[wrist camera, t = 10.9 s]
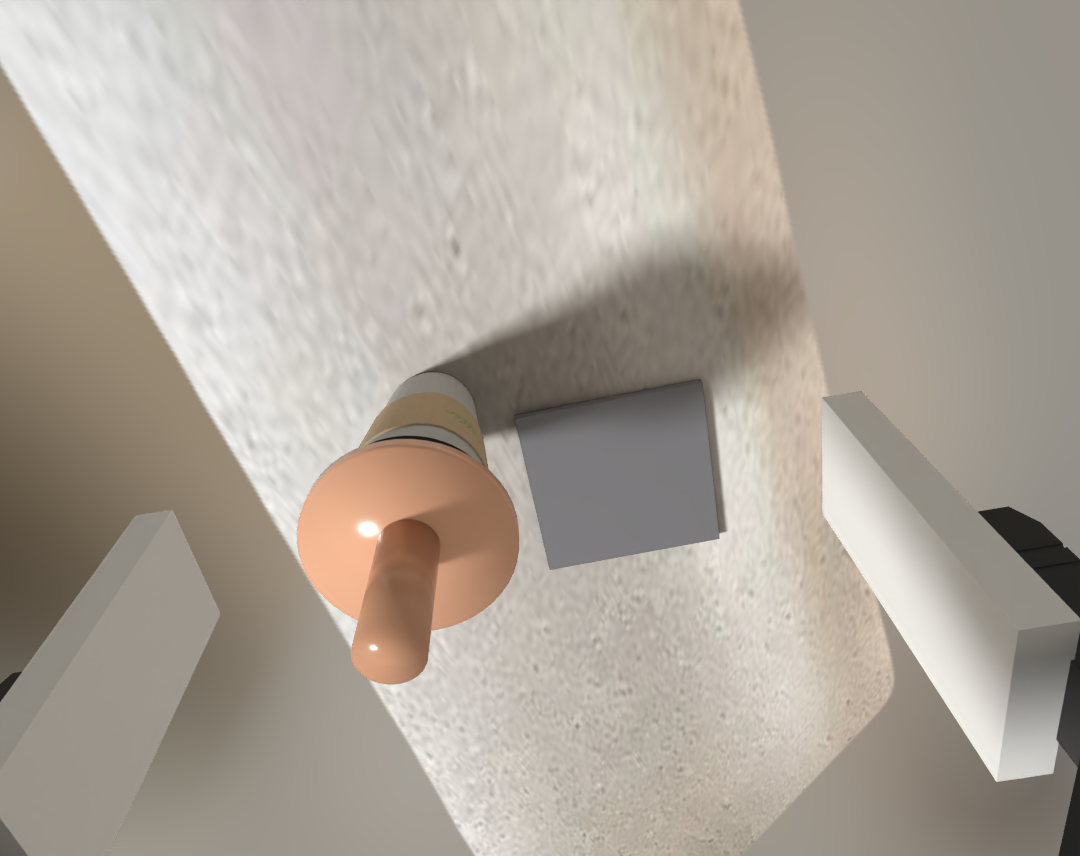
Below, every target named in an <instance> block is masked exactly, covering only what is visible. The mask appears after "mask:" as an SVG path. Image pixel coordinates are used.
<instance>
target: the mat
mask: <svg viewBox="0 0 1080 856" xmlns="http://www.w3.org/2000/svg"><path fill="white" fill-rule="evenodd" d="M515 422H516V426H517V431H518V435H519V439H520V444H521V448H522V452H523V456H524V461H525V465H526V469H527V474H528V478H529V482H530V487H531V491H532V495H533V500H534V504H535V508H536V513H537V517H538V521H539V526H540V530H541V534H542V539H543V543H544V547H545V552H546V556H547V560H548V565H549V569H550V570H552V569H557V568H562V567H568V566H573V565H579V564H584V563H590V562H595V561H601V560H606V559H612V558H617V557H622V556H628V555H633V554H639V553H644V552H650V551H655V550H661V549H666V548H671V547H677V546H682V545H688V544H693V543H699V542H704V541H710V540H715V539H720V538H719V529H718V520H717V511H716V502H715V493H714V483H713V474H712V465H711V456H710V447H709V438H708V429H707V420H706V411H705V401H704V392H703V383H702V381H701V379H700V380H695V381H690V382H685V383H679V384H674V385H669V386H664V387H659V388H654V389H648V390H643V391H638V392H633V393H628V394H623V395H617V396H612V397H607V398H602V399H597V400H592V401H586V402H581V403H576V404H571V405H566V406H560V407H555V408H550V409H545V410H540V411H535V412H529V413H524V414H519V415H515Z"/></svg>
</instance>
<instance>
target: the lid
mask: <svg viewBox="0 0 1080 856" xmlns="http://www.w3.org/2000/svg"><path fill="white" fill-rule="evenodd" d="M297 545H298V552H299V556H300V559H301V562H302V565H303V568H304V570H305V572H306V574H307V576H308V578H309V579H310V581H311V582H312V583H313V585H314V586H315V588H316V589H317V590H318V591H319V592H320V593H321V595H322V596H323V597H324V598H325V599H326V600H328V601H329V602H330V603H331V604H332V605H333V606H335V607H336V608H338V609H339V610H341V611H342V612H343V613H345V614H347V615H349V616H351V617H352V618H354V619H356V620H358V623H357V628H356V632H355V636H354V640H353V644H352V648H351V659H352V662H353V664H354V666H355V668H356V669H357V670H358V672H360V673H361V674H362V675H363V676H364V677H366V678H368V679H370V680H372V681H374V682H378V683H382V684H400V683H404V682H407V681H410V680H412V679H414V678H415V677H417V676H418V675H419V674H420V673H421V672H422V671H423V670H424V668H425V666H426V664H427V660H428V652H429V643H430V635H431V630H438V629H442V628H446V627H450V626H453V625H456V624H458V623H461V622H463V621H465V620H467V619H469V618H471V617H473V616H475V615H477V614H478V613H480V612H481V611H483V610H484V609H485V608H487V607H488V606H489V605H490V604H491V603H493V602H494V601H495V599H496V598H497V597H498V596H499V595H500V594H501V593H502V592H503V590H504V589H505V587H506V586H507V584H508V583H509V581H510V579H511V577H512V575H513V573H514V570H515V566H516V563H517V559H518V552H519V528H518V521H517V515H516V512H515V509H514V506H513V503H512V501H511V499H510V497H509V495H508V493H507V491H506V490H505V488H504V487H503V485H502V484H501V482H500V481H499V480H498V479H497V478H496V477H495V476H494V475H493V473H492V472H491V471H490V470H488V469H487V468H486V467H485V466H484V465H482V464H481V463H480V462H478V461H477V460H475V459H474V458H472V457H471V456H469V455H467V454H465V453H463V452H461V451H459V450H457V449H455V448H452V447H449V446H446V445H443V444H440V443H436V442H431V441H426V440H417V439H393V440H386V441H380V442H376V443H372V444H368V445H365V446H362V447H360V448H357V449H355V450H353V451H351V452H349V453H347V454H345V455H344V456H342V457H340V458H339V459H338V460H336V461H335V462H334V463H332V464H331V465H330V466H329V467H328V468H327V469H326V470H325V471H324V472H323V473H322V474H321V475H320V476H319V478H318V479H317V480H316V482H315V483H314V484H313V486H312V488H311V490H310V492H309V494H308V495H307V498H306V500H305V503H304V505H303V508H302V511H301V514H300V517H299V521H298V527H297Z"/></svg>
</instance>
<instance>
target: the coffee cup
mask: <svg viewBox="0 0 1080 856" xmlns="http://www.w3.org/2000/svg"><path fill="white" fill-rule="evenodd" d="M393 439H417V440H426V441H431V442H436V443H440V444H443V445H446V446H449V447H452V448H455V449H457V450H459V451H461V452H463V453H465V454H467V455H469V456H471V457H472V458H474V459H475V460H477V461H478V462H480V463H481V464H482V465H484V466H485V467H486V468H487V469H488V464H487V458H486V452H485V446H484V441H483V436H482V432H481V430H480V427H479V425H478V419H477V414H476V408H475V404H474V401H473V399H472V396H471V395H470V393H469V391H468V390H467V388H466V387H465V386H464V385H463V384H462V383H461V382H460V381H458V380H457V379H456V378H454V377H452V376H450V375H448V374H444V373H440V372H429V373H422V374H419V375H416V376H413V377H412V378H410V379H408V380H406V381H405V382H404V383H402V384H401V385H400V386H399V387H398V388H397V389H396V391H395V392H394V393H393V395H392V397H391V398H390V400H389V402H388V403H387V405H386V407H385V408H384V409H383V410H382V411H381V413H380V414H379V415H378V416H377V417H376V419H375V421H374V422H373V424H372V426H371V427H370V429H369V431H368V433H367V434H366V436H365V438H364V439H363V441H362V443H361V444H360V446H359V448H360V447H362V446H365V445H368V444H372V443H376V442H380V441H386V440H393ZM488 470H489V469H488Z"/></svg>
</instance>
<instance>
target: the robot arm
mask: <svg viewBox="0 0 1080 856" xmlns="http://www.w3.org/2000/svg"><path fill="white" fill-rule="evenodd" d="M822 463H823V515H824V516H825V518H826V519H827V521H828V523H829V524H830V526H831V527H832V529H833V530H834V532H835V533H836V535H837V536H838V538H839V539H840V541H841V543H842V544H843V546H844V547H845V549H846V550H847V552H848V553H849V555H850V556H851V558H852V560H853V561H854V563H855V564H856V566H857V567H858V569H859V570H860V572H861V573H862V575H863V576H864V578H865V580H866V581H867V583H868V584H869V586H870V587H871V589H872V590H873V592H874V593H875V595H876V597H877V598H878V600H879V601H880V603H881V604H882V606H883V607H884V609H885V610H886V612H887V613H888V615H889V617H890V618H891V619H892V621H893V623H894V624H895V626H896V627H897V629H898V630H899V632H900V634H901V635H902V637H903V638H904V640H905V641H906V643H907V644H908V646H909V647H910V649H911V651H912V652H913V654H914V655H915V657H916V658H917V660H918V661H919V663H920V664H921V666H922V667H923V669H924V671H925V672H926V673H927V675H928V677H929V678H930V680H931V681H932V683H933V684H934V686H935V688H936V689H937V691H938V692H939V694H940V695H941V697H942V698H943V700H944V701H945V703H946V704H947V706H948V708H949V709H950V711H951V712H952V714H953V715H954V717H955V718H956V720H957V721H958V723H959V724H960V726H961V728H962V729H963V731H964V732H965V734H966V735H967V737H968V738H969V740H970V741H971V743H972V745H973V746H974V748H975V749H976V751H977V752H978V754H979V755H980V757H981V759H982V760H983V761H984V763H985V765H986V766H987V767H988V769H989V771H990V772H991V774H992V775H993V777H994V779H995V780H996V782H999V781H1006V780H1012V779H1019V778H1025V777H1032V776H1038V775H1045V774H1051V773H1053V770H1054V764H1055V759H1056V754H1057V749H1058V743H1059V744H1060V745H1061V746H1062V748H1063V749H1064V750H1065V751H1066V753H1067V754H1068V755H1069V757H1070V758H1071V759H1072V761H1073V762H1074V763H1075V765H1076V766H1077V767H1078V770H1077V774H1076V779H1075V784H1074V788H1073V793H1072V797H1071V802H1070V807H1069V811H1068V815H1067V821H1066V825H1065V830H1064V834H1063V839H1062V843H1061V847H1060V852H1059V856H1080V559H1079V558H1078V557H1077V556H1076V555H1075V554H1074V553H1072V552H1071V551H1070V550H1069V549H1068V548H1067V547H1066V548H1064V547H1063V543H1062V542H1061V541H1060V540H1059V539H1057V537H1055V536H1054V535H1053V534H1052V533H1051V532H1050V531H1049V530H1048V529H1047V528H1046V527H1045V526H1044V525H1043V524H1042V523H1040V522H1038V521H1036V520H1034V519H1032V518H1030V517H1028V516H1026V515H1024V514H1022V513H1020V512H1018V511H1016V510H1014V509H1012V508H1010V507H1004V508H997V509H992V510H985V511H979V512H977V511H976V510H975V509H974V508H973V507H972V506H971V505H970V504H969V502H967V500H966V499H965V498H964V497H963V496H962V495H961V494H960V493H959V492H958V491H957V490H956V489H955V488H954V487H953V486H952V485H951V484H950V483H949V482H948V481H947V480H946V478H945V477H944V476H943V475H942V474H941V473H940V472H939V471H938V470H937V469H936V468H935V467H934V466H933V465H932V464H931V463H930V462H929V461H928V460H927V459H926V458H925V457H924V456H923V455H922V454H921V453H920V451H919V450H918V449H917V448H916V447H915V446H914V445H913V444H912V443H911V442H910V441H909V440H908V439H907V438H906V437H905V436H904V435H903V434H902V433H901V432H900V431H899V430H898V429H897V428H896V427H895V426H894V424H892V423H891V421H890V420H889V419H888V418H887V417H886V416H885V415H884V414H883V413H882V412H881V411H880V410H879V409H878V408H877V407H876V406H875V405H874V404H873V403H872V402H871V401H870V399H869V398H868V397H867V396H865V394H864V393H863V392H862V391H858V392H852V393H847V394H841V395H835V396H829V397H823V398H822ZM219 616H220V612H219V610H218V607H217V605H216V603H215V601H214V599H213V597H212V594H211V592H210V590H209V588H208V586H207V584H206V582H205V579H204V577H203V575H202V573H201V571H200V568H199V566H198V564H197V562H196V560H195V558H194V556H193V553H192V551H191V549H190V547H189V545H188V543H187V541H186V538H185V536H184V534H183V532H182V530H181V527H180V526H179V523H178V521H177V519H176V517H175V514H174V512H173V510H166V511H160V512H155V513H149V514H143V515H137V516H135V517H134V519H133V520H132V521H131V523H130V524H129V525H128V527H127V528H126V530H125V531H124V533H123V534H122V535H121V537H120V538H119V539H118V541H117V542H116V544H115V545H114V546H113V548H112V549H111V551H110V552H109V553H108V555H107V556H106V557H105V559H104V560H103V561H102V563H101V564H100V566H99V567H98V568H97V570H96V571H95V573H94V574H93V575H92V577H91V578H90V579H89V581H88V582H87V583H86V585H85V586H84V588H83V589H82V591H81V592H80V593H79V595H78V596H77V597H76V599H75V600H74V601H73V603H72V604H71V605H70V607H69V608H68V610H67V611H66V612H65V614H64V615H63V617H62V618H61V619H60V621H59V622H58V623H57V625H56V626H55V628H54V629H53V630H52V632H51V633H50V634H49V636H48V637H47V639H46V640H45V642H44V643H43V644H42V645H41V647H40V648H39V650H38V651H37V653H36V654H35V655H34V656H33V658H32V659H31V661H30V662H29V663H28V665H27V666H26V668H25V669H24V670H23V672H17V673H13V674H11V675H10V676H9V677H8V678H7V679H6V680H4V681H3V682H2V683H1V684H0V856H108V855H109V853H110V851H111V848H112V846H113V844H114V842H115V840H116V838H117V836H118V833H119V831H120V829H121V827H122V825H123V823H124V820H125V818H126V816H127V814H128V812H129V810H130V808H131V805H132V803H133V801H134V799H135V797H136V795H137V793H138V790H139V788H140V786H141V784H142V782H143V780H144V777H145V775H146V773H147V771H148V769H149V767H150V765H151V762H152V760H153V758H154V756H155V754H156V752H157V749H158V747H159V745H160V743H161V741H162V739H163V737H164V734H165V732H166V730H167V728H168V726H169V723H170V722H171V719H172V717H173V715H174V713H175V711H176V709H177V706H178V704H179V702H180V700H181V698H182V696H183V693H184V691H185V689H186V687H187V685H188V683H189V681H190V679H191V676H192V674H193V672H194V670H195V668H196V665H197V663H198V661H199V659H200V657H201V655H202V653H203V650H204V648H205V646H206V644H207V642H208V640H209V638H210V635H211V633H212V631H213V629H214V627H215V625H216V622H217V620H218V618H219Z"/></svg>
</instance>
